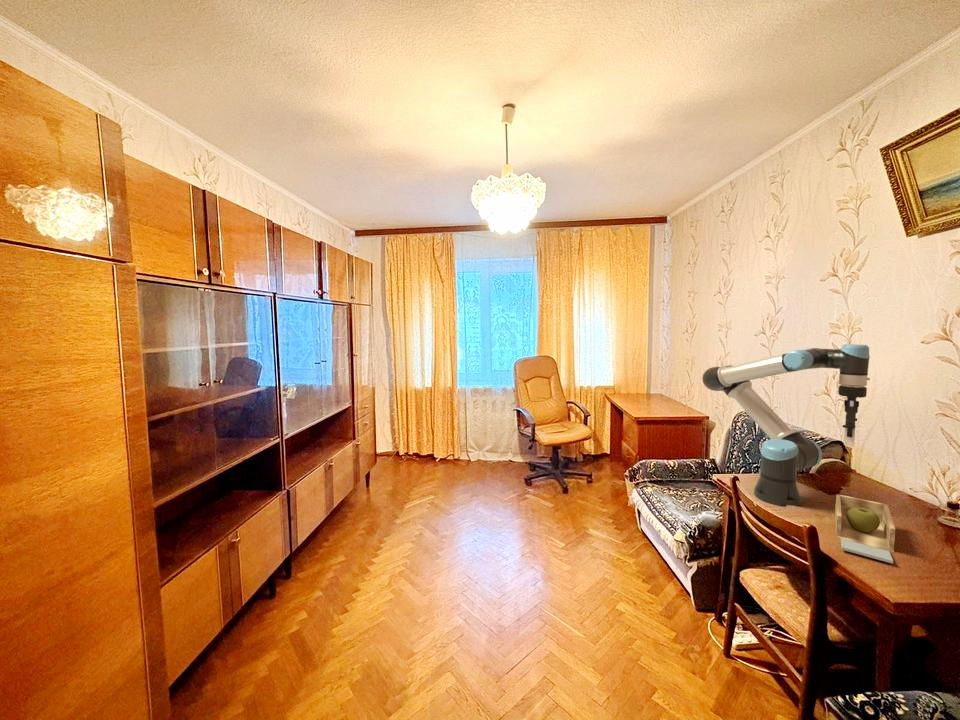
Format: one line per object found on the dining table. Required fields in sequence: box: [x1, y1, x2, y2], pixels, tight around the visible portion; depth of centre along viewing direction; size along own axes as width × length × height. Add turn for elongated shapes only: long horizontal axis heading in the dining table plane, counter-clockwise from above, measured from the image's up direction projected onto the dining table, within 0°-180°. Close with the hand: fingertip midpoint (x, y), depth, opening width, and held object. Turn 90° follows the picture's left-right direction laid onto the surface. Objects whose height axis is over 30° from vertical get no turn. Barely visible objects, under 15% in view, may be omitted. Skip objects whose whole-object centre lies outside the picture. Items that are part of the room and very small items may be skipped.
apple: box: [846, 507, 880, 532], centre depth 129 cm, size 8×8×7 cm
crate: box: [834, 493, 896, 553], centre depth 129 cm, size 13×22×8 cm, turn 138°
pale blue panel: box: [840, 538, 894, 565], centre depth 117 cm, size 11×1×9 cm
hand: (848, 441), depth 144 cm, fingers open, 13 cm apart
